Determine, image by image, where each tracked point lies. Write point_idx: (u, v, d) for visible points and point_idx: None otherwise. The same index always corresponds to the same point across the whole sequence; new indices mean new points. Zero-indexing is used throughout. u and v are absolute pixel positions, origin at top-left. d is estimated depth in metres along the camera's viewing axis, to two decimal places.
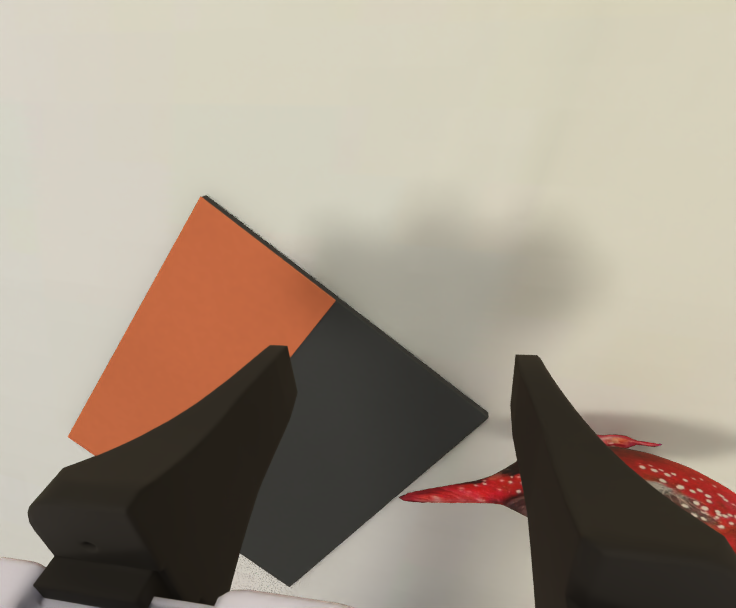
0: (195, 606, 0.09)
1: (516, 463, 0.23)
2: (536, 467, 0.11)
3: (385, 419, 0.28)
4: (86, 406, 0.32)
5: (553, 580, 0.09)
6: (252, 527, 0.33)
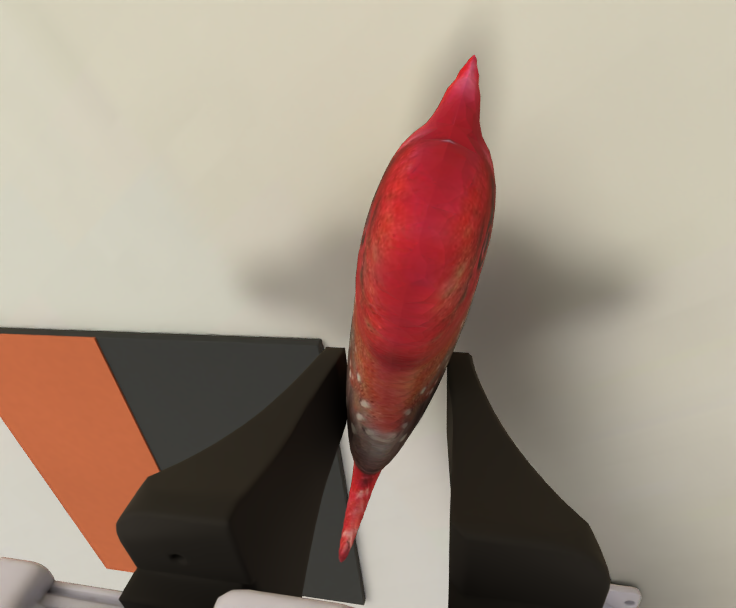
0: None
1: None
2: None
3: (249, 412, 0.23)
4: (87, 539, 0.33)
5: None
6: None
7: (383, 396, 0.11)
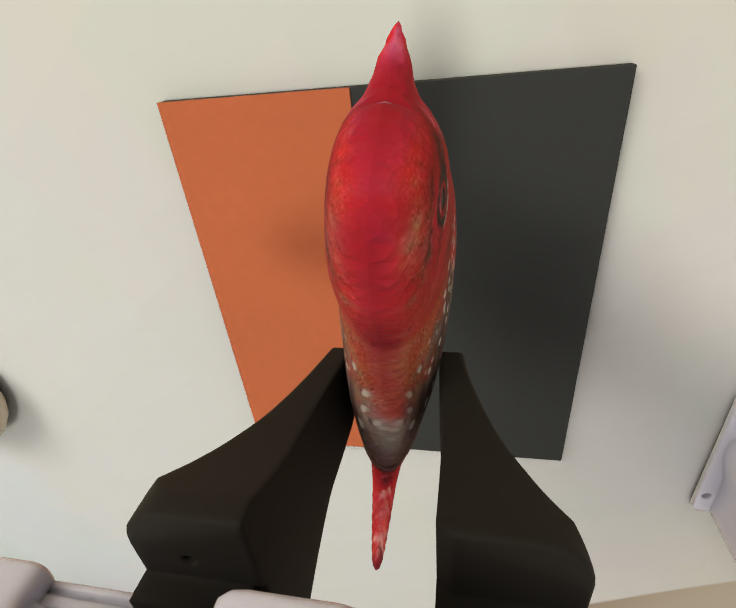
0: None
1: None
2: None
3: (511, 183, 0.20)
4: (249, 399, 0.30)
5: None
6: None
7: (380, 381, 0.11)
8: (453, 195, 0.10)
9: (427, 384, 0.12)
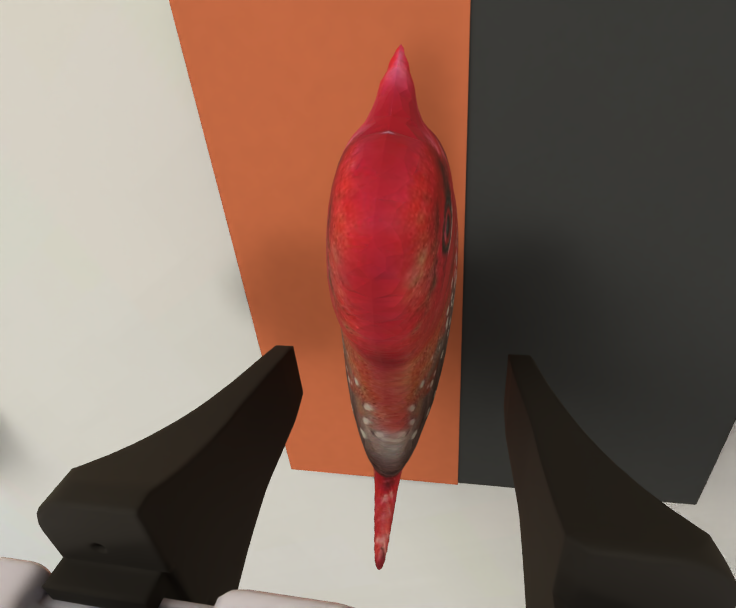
0: (195, 606, 0.09)
1: None
2: (527, 466, 0.11)
3: (710, 106, 0.13)
4: None
5: (542, 578, 0.09)
6: None
7: (384, 396, 0.11)
8: None
9: (429, 396, 0.12)
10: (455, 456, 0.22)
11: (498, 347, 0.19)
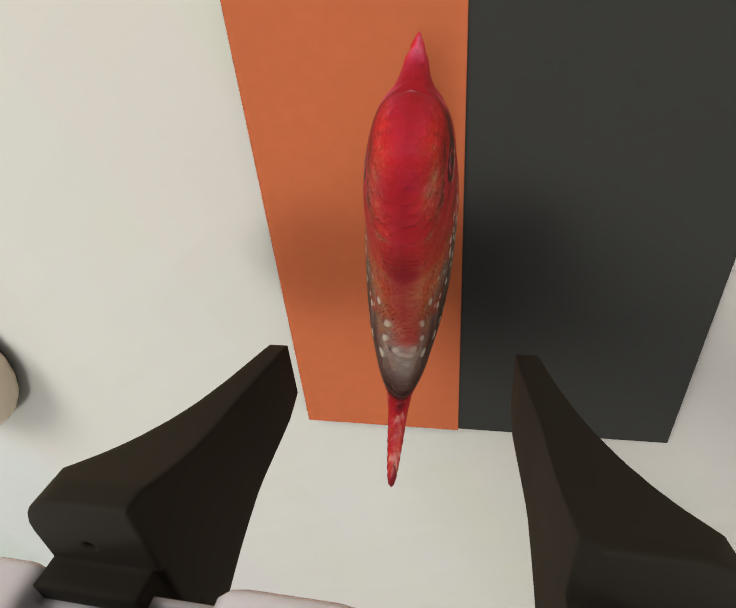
0: (195, 606, 0.09)
1: None
2: (536, 467, 0.11)
3: (663, 87, 0.16)
4: (301, 372, 0.26)
5: (553, 580, 0.09)
6: (568, 393, 0.24)
7: (400, 311, 0.14)
8: None
9: (435, 317, 0.15)
10: (456, 403, 0.25)
11: (493, 299, 0.22)
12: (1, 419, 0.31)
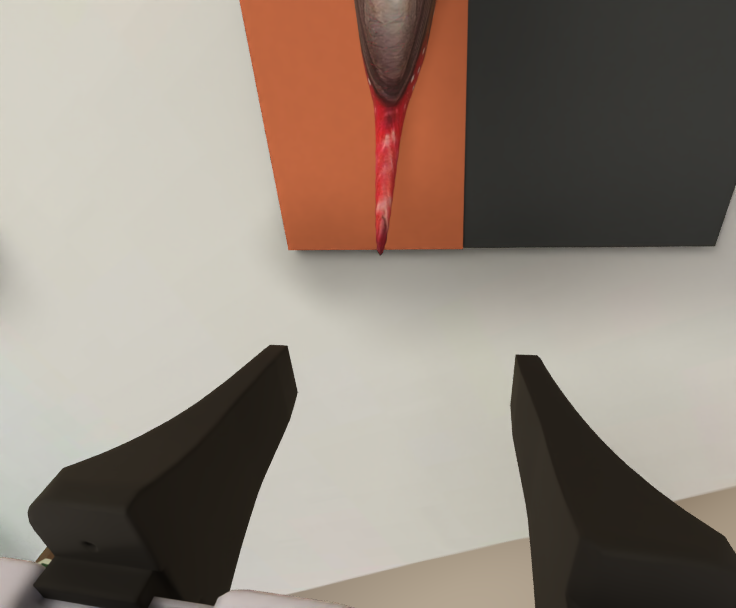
0: (195, 606, 0.09)
1: None
2: (536, 467, 0.11)
3: None
4: (276, 179, 0.22)
5: (553, 580, 0.09)
6: (596, 180, 0.20)
7: None
8: None
9: None
10: (461, 207, 0.21)
11: (506, 38, 0.18)
12: None
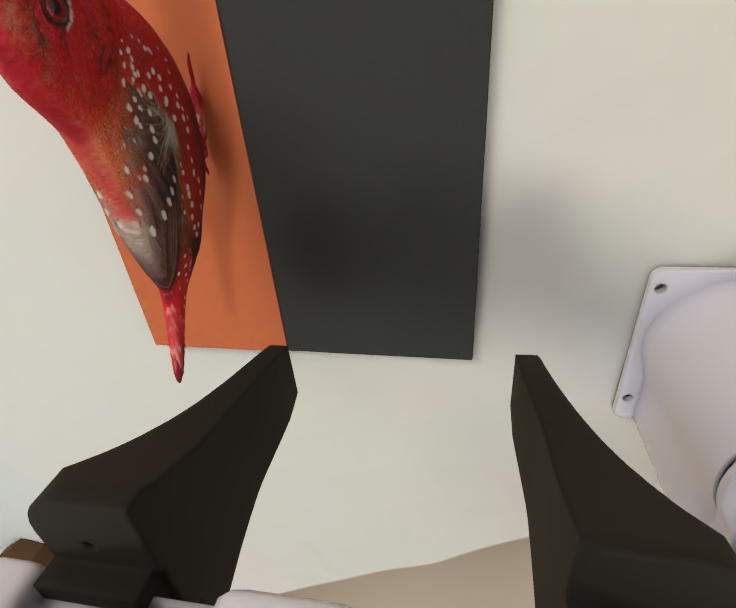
0: (195, 606, 0.09)
1: None
2: (536, 467, 0.11)
3: None
4: (138, 294, 0.28)
5: (553, 580, 0.09)
6: (374, 310, 0.25)
7: (99, 178, 0.15)
8: (125, 33, 0.14)
9: (151, 193, 0.16)
10: (280, 323, 0.27)
11: (287, 213, 0.23)
12: None
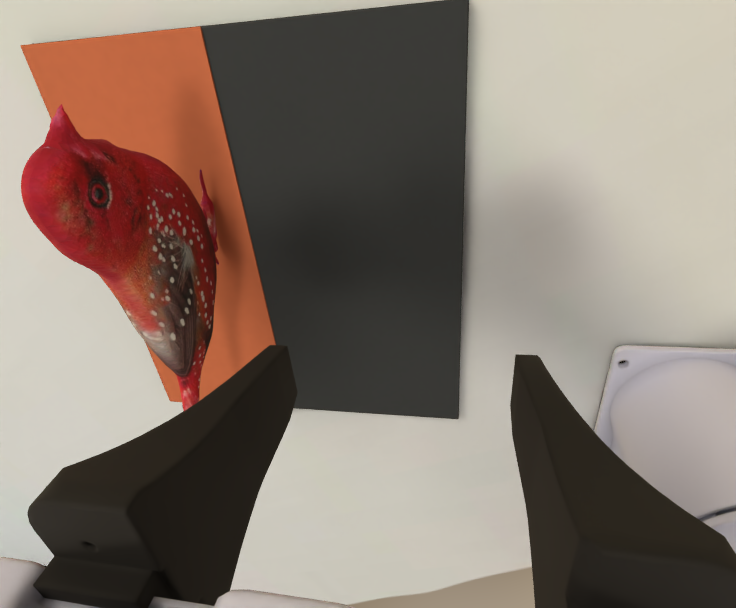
0: (195, 606, 0.09)
1: None
2: (536, 467, 0.11)
3: (368, 125, 0.20)
4: (154, 359, 0.30)
5: (553, 580, 0.09)
6: (369, 376, 0.28)
7: (129, 303, 0.18)
8: (151, 190, 0.17)
9: (172, 308, 0.19)
10: None
11: (289, 295, 0.26)
12: None
